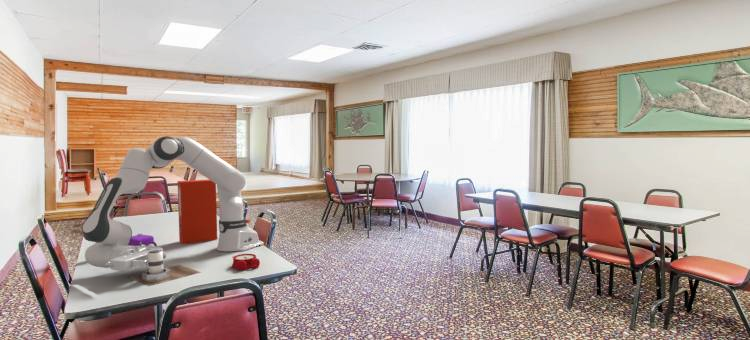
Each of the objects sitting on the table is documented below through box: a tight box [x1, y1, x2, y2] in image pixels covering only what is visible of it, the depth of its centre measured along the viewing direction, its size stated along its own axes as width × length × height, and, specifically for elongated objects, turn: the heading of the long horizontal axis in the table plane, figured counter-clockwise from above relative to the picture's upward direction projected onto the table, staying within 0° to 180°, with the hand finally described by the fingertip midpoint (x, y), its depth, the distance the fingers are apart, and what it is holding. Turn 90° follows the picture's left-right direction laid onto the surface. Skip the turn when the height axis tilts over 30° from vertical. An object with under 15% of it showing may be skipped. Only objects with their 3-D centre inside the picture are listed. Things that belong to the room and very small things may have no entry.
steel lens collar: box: [141, 267, 170, 282], centre depth 157 cm, size 9×9×2 cm
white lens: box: [147, 250, 165, 274], centre depth 157 cm, size 5×5×10 cm
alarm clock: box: [231, 253, 261, 271], centre depth 175 cm, size 10×6×15 cm
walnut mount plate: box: [127, 264, 202, 287], centre depth 161 cm, size 20×17×1 cm
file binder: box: [177, 178, 218, 245], centre depth 222 cm, size 8×17×32 cm, turn 126°
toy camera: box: [129, 233, 158, 247], centre depth 190 cm, size 11×14×10 cm
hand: (155, 259), depth 157 cm, fingers open, 8 cm apart
